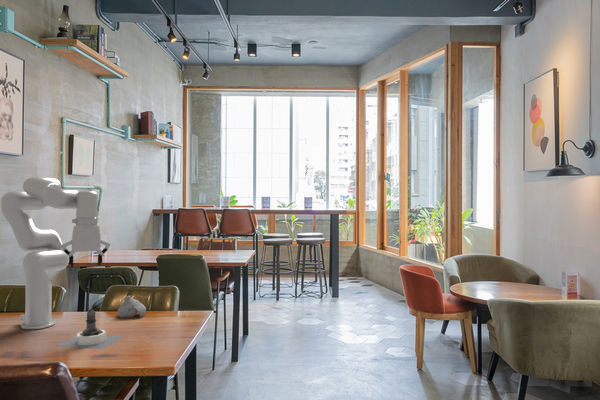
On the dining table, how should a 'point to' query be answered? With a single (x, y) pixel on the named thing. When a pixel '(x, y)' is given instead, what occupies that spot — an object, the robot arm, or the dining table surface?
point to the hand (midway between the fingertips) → (85, 265)
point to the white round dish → (91, 338)
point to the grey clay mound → (131, 308)
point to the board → (102, 345)
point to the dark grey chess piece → (91, 324)
